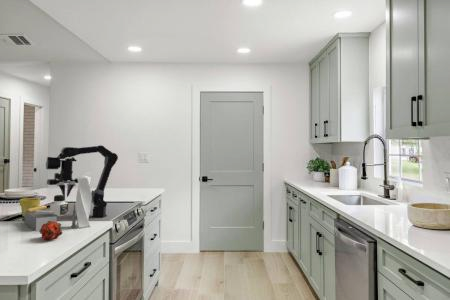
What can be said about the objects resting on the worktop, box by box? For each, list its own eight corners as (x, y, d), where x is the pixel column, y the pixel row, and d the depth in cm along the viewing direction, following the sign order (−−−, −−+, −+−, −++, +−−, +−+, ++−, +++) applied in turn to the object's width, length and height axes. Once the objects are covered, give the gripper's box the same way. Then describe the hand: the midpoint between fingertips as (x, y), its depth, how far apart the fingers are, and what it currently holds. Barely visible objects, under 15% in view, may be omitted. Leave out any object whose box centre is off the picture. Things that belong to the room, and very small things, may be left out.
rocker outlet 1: (44, 206, 179) (44, 205, 179) (46, 208, 176) (46, 206, 175) (28, 210, 173) (27, 208, 173) (30, 212, 170) (29, 210, 170)
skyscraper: (87, 224, 176) (89, 172, 176) (93, 227, 170) (95, 173, 170) (71, 226, 170) (73, 172, 170) (77, 229, 164) (79, 173, 164)
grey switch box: (45, 220, 181) (46, 209, 181) (57, 228, 165) (58, 215, 165) (24, 223, 174) (24, 210, 174) (34, 231, 158) (35, 217, 158)
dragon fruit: (53, 238, 152) (52, 249, 141) (36, 229, 148) (33, 239, 137) (65, 223, 153) (65, 233, 142) (49, 214, 149) (47, 223, 139)
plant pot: (43, 214, 198) (44, 198, 198) (31, 217, 188) (32, 200, 188) (27, 213, 199) (28, 197, 199) (14, 217, 189) (15, 200, 189)
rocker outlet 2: (51, 213, 169) (52, 211, 169) (54, 214, 166) (54, 212, 166) (34, 212, 164) (34, 209, 164) (36, 213, 161) (37, 211, 161)
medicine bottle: (60, 216, 194) (60, 196, 194) (49, 215, 196) (50, 195, 196) (68, 214, 201) (68, 194, 201) (57, 213, 203) (58, 194, 203)
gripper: (78, 168, 198) (77, 194, 198) (44, 168, 185) (43, 196, 185) (85, 169, 190) (84, 196, 190) (50, 169, 177) (49, 198, 177)
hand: (65, 196), depth 186 cm, fingers closed
